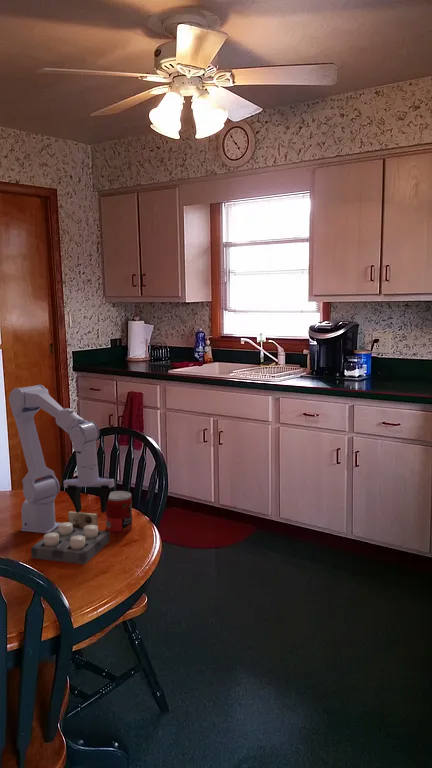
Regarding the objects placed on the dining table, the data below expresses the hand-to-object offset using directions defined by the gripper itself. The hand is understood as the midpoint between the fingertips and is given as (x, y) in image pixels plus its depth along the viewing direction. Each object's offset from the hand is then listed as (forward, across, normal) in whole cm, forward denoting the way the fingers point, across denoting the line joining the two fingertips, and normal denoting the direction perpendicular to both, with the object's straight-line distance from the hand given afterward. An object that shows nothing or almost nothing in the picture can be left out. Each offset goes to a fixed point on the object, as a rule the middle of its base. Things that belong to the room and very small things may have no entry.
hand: (91, 511), depth 175 cm
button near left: (+7, -9, -8) cm, 14 cm away
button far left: (+7, -9, 0) cm, 11 cm away
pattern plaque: (+9, -6, +7) cm, 13 cm away
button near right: (+8, -1, -8) cm, 11 cm away
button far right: (+7, -1, 0) cm, 7 cm away
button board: (+10, -5, -4) cm, 12 cm away
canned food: (+10, +3, +13) cm, 16 cm away
